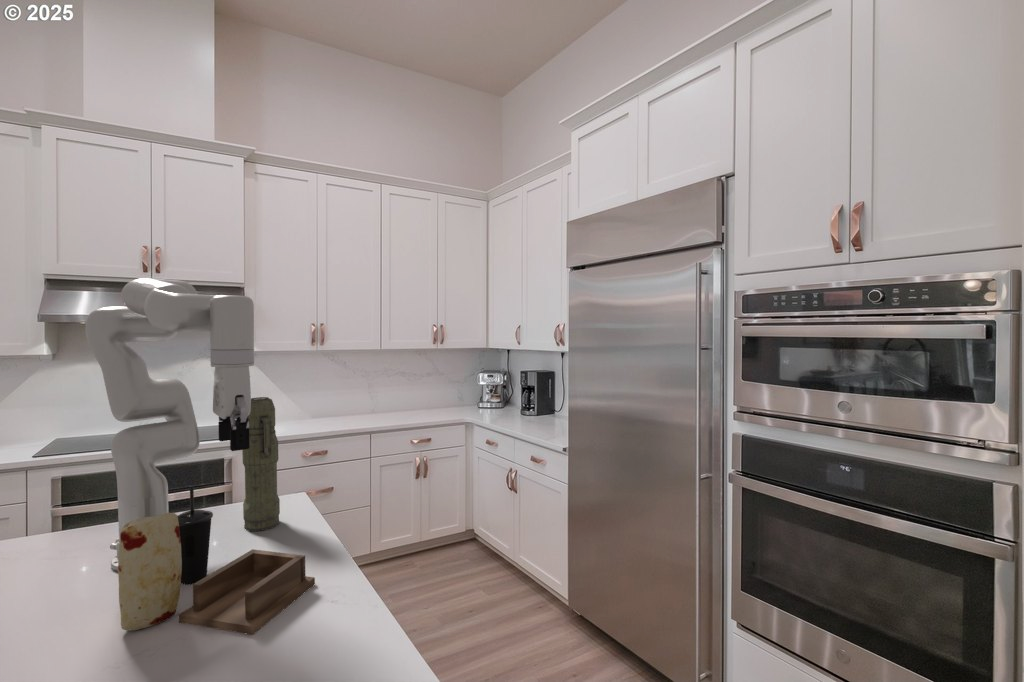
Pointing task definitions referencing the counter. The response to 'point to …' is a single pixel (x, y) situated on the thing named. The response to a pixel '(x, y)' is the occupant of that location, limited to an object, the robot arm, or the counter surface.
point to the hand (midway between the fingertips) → (233, 444)
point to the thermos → (261, 468)
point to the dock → (248, 591)
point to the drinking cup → (194, 542)
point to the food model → (149, 570)
